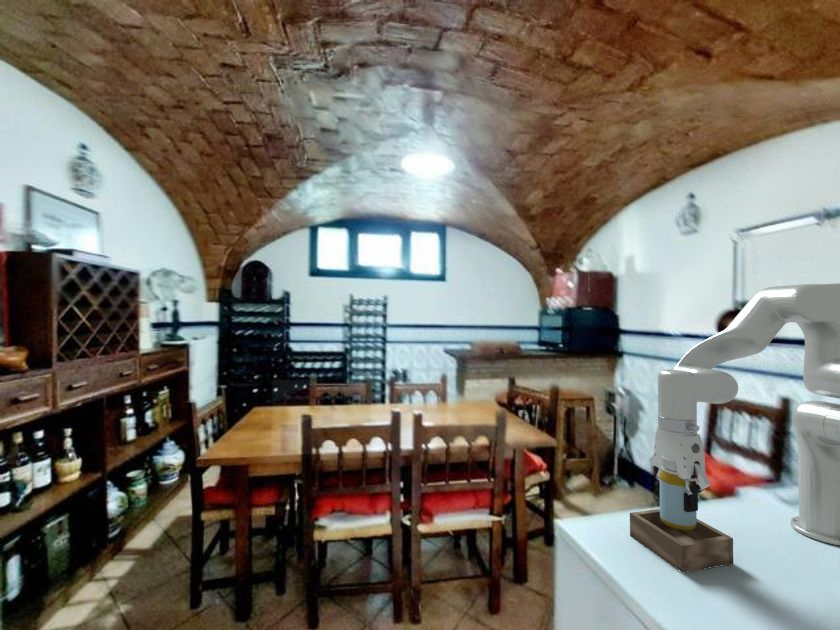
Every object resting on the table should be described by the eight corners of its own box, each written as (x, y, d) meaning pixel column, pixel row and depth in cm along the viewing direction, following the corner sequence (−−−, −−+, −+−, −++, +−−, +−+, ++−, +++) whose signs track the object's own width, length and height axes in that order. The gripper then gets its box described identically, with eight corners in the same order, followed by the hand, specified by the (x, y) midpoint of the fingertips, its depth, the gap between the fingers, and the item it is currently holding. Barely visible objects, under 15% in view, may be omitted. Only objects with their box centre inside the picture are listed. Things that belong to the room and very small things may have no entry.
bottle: (702, 533, 90) (701, 463, 90) (666, 530, 91) (666, 461, 91) (688, 518, 97) (687, 453, 97) (655, 515, 98) (654, 451, 98)
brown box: (675, 529, 103) (675, 506, 103) (733, 564, 88) (733, 538, 88) (629, 535, 100) (629, 512, 100) (682, 572, 85) (681, 546, 85)
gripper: (726, 433, 87) (727, 520, 86) (661, 415, 103) (661, 487, 103) (696, 436, 85) (697, 524, 85) (635, 416, 102) (635, 490, 102)
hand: (677, 503), depth 94 cm, fingers closed on bottle, 6 cm apart
